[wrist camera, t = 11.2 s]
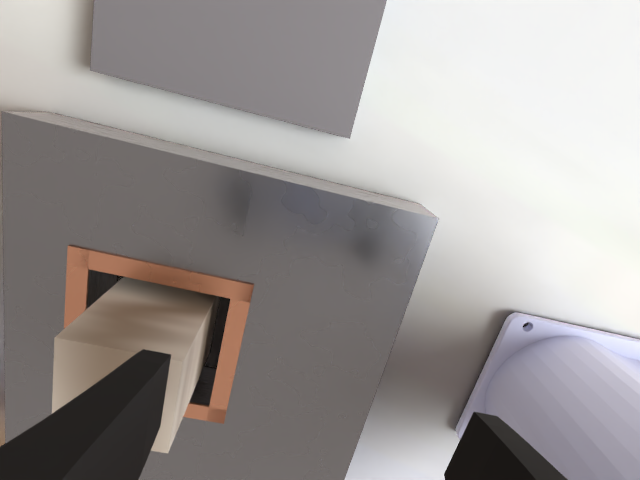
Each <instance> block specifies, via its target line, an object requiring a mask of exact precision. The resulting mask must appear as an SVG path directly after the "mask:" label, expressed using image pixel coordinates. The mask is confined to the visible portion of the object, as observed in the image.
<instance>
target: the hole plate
mask: <svg viewBox="0 0 640 480" xmlns="http://www.w3.org/2000/svg"><path fill="white" fill-rule="evenodd" d="M2 169H3V262H4V355H5V443H7V442H9V441H10V440H12V439H13V438H15V437H16V436H18V435H20V434H21V433H23V432H24V431H26V430H27V429H29V428H31V427H32V426H34V425H35V424H37V423H39V422H40V421H42V420H43V419H45V418H46V417H48V416H49V415H51V414H52V393H53V365H54V338H55V337H56V336H57V335H58V334H59V333H60V332H61V331H62V330H64V329H65V328H66V327H67V326H68V325H69V324H70V323H72V322H73V321H74V320H75V319H76V318H77V317H78V316H80V315H81V314H82V313H83V312H84V311H85V310H86V309H88V308H89V307H90V306H91V305H92V304H93V303H94V302H96V301H97V300H98V299H99V298H100V297H101V296H102V295H103V294H105V293H106V292H107V291H108V290H109V289H110V288H111V287H113V286H114V285H115V284H116V283H117V275H119V276H124V277H129V278H133V279H138V280H143V281H148V282H153V283H157V284H162V285H167V286H172V287H177V288H181V289H186V290H191V291H196V292H201V293H206V294H210V295H215V296H220V297H225V298H230V304H229V309H228V314H227V319H226V324H225V329H224V334H223V340H222V345H221V350H220V355H219V360H218V365H217V369H214V368H209V367H203V370H202V372H201V375H200V377H199V380H198V382H197V384H196V387H195V389H194V392H193V394H192V396H191V399H190V401H189V404H188V406H187V409H186V411H185V413H184V416H183V418H182V421H181V423H180V426H179V428H178V430H177V433H176V435H175V438H174V440H173V442H172V445H171V447H170V450H169V452H168V453H162V452H156V451H150V454H149V456H148V458H147V461H146V463H145V466H144V468H143V470H142V473H141V475H140V477H139V479H138V480H344V479H345V476H346V473H347V471H348V468H349V465H350V462H351V460H352V457H353V454H354V451H355V449H356V446H357V443H358V440H359V438H360V435H361V432H362V429H363V427H364V424H365V421H366V418H367V415H368V413H369V410H370V407H371V404H372V402H373V399H374V396H375V393H376V391H377V388H378V385H379V382H380V380H381V377H382V374H383V371H384V369H385V366H386V363H387V360H388V358H389V355H390V352H391V349H392V347H393V344H394V341H395V338H396V336H397V333H398V330H399V327H400V325H401V322H402V319H403V316H404V314H405V311H406V308H407V305H408V303H409V300H410V297H411V294H412V292H413V289H414V286H415V283H416V280H417V278H418V275H419V272H420V269H421V267H422V264H423V261H424V258H425V256H426V253H427V250H428V247H429V245H430V242H431V239H432V236H433V234H434V231H435V228H436V225H437V223H438V220H439V218H438V217H436V216H435V215H434V214H432V213H431V212H430V211H429V210H427V209H426V208H425V207H424V206H422V205H421V204H418V203H414V202H410V201H406V200H402V199H398V198H394V197H390V196H386V195H382V194H378V193H374V192H370V191H366V190H362V189H358V188H354V187H350V186H346V185H342V184H338V183H334V182H330V181H325V180H321V179H317V178H313V177H309V176H305V175H301V174H297V173H293V172H289V171H285V170H281V169H277V168H273V167H269V166H265V165H261V164H257V163H253V162H249V161H245V160H241V159H237V158H233V157H229V156H225V155H221V154H217V153H213V152H209V151H205V150H201V149H197V148H193V147H189V146H185V145H181V144H176V143H172V142H168V141H164V140H160V139H156V138H152V137H148V136H144V135H140V134H136V133H132V132H128V131H124V130H120V129H116V128H112V127H108V126H104V125H100V124H96V123H92V122H88V121H84V120H80V119H76V118H72V117H68V116H64V115H60V114H56V113H52V112H12V111H2Z"/></svg>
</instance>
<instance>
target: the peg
mask: <svg viewBox="0 0 640 480" xmlns="http://www.w3.org/2000/svg"><path fill="white" fill-rule="evenodd" d="M219 300H220V296H215V295H210V294H206V293H201V292H196V291H191V290H186V289H181V288H177V287H172V286H167V285H162V284H157V283H153V282H148V281H143V280H138V279H133V278H129V277H123V278H122V279H121V280H119V281H118V282H117V283H116V284H115V285H114V286H113V287H111V288H110V289H109V290H108V291H107V292H106V293H105V294H103V295H102V296H101V297H100V298H99V299H98V300H97V301H96V302H94V303H93V304H92V305H91V306H90V307H89V308H88V309H86V310H85V311H84V312H83V313H82V314H81V315H80V316H78V317H77V318H76V319H75V320H74V321H73V322H72V323H70V324H69V325H68V326H67V327H66V328H65V329H64V330H62V331H61V332H60V333H59V334H58V335H57V336H56V337H55V338H54V365H53V393H52V413H54V412H55V411H56V410H58V409H59V408H61V407H62V406H64V405H65V404H67V403H68V402H70V401H71V400H72V399H74V398H75V397H77V396H78V395H80V394H81V393H83V392H84V391H86V390H87V389H88V388H90V387H91V386H93V385H94V384H95V383H97V382H98V381H99V380H101V379H102V378H104V377H105V376H106V375H108V374H109V373H110V372H112V371H113V370H115V369H116V368H117V367H119V366H120V365H121V364H123V363H124V362H125V361H127V360H128V359H129V358H131V357H132V356H133V355H135V354H136V353H138V352H139V351H141V350H143V349H145V350H151V351H156V352H161V353H166V354H171V360H170V366H169V373H168V380H167V386H166V393H165V399H164V406H163V413H162V419H161V426H160V429H159V431H158V434H157V436H156V439H155V441H154V444H153V446H152V449H151V451H156V452H162V453H168V452H169V450H170V447H171V445H172V442H173V440H174V438H175V435H176V433H177V430H178V428H179V426H180V423H181V421H182V418H183V416H184V413H185V411H186V409H187V406H188V404H189V401H190V399H191V396H192V394H193V392H194V389H195V387H196V384H197V382H198V380H199V377H200V375H201V372H202V370H203V367H204V365H205V363H206V360H207V358H208V355H209V353H210V348H211V343H212V337H213V332H214V327H215V321H216V316H217V311H218V305H219Z"/></svg>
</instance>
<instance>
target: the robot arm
mask: <svg viewBox="0 0 640 480" xmlns="http://www.w3.org/2000/svg"><path fill="white" fill-rule="evenodd" d="M527 322H529V323H528V325H527V326H526V327H523V325H524V324H525V323H527ZM170 360H171V354H166V353H161V352H156V351H151V350H145V349H143V350H141V351H139V352H138V353H136V354H135V355H133V356H132V357H131V358H129V359H128V360H127V361H125V362H124V363H123V364H121V365H120V366H119V367H117V368H116V369H115V370H113V371H112V372H110V373H109V374H108V375H106V376H105V377H104V378H102V379H101V380H99V381H98V382H97V383H95V384H94V385H93V386H91V387H90V388H88V389H87V390H86V391H84V392H83V393H81V394H80V395H78V396H77V397H75V398H74V399H72V400H71V401H70V402H68V403H67V404H65V405H64V406H62V407H61V408H59V409H58V410H56V411H55V412H54V413H52V414H51V415H49V416H48V417H46V418H45V419H43V420H42V421H40V422H39V423H37V424H35V425H34V426H32V427H31V428H29V429H27V430H26V431H24V432H23V433H21V434H20V435H18V436H16V437H15V438H13V439H12V440H10V441H9V442H7V443H5V444H4V445H2V446H1V447H0V480H138V479H139V477H140V475H141V473H142V470H143V468H144V466H145V463H146V461H147V458H148V456H149V454H150V451H151V449H152V446H153V444H154V441H155V439H156V436H157V434H158V431H159V429H160V426H161V419H162V413H163V406H164V399H165V393H166V386H167V380H168V373H169V366H170ZM455 431H456V434H457V436H458V438H459V439H461V440H460V442H459V444H458V446H457V448H456V450H455V452H454V454H453V457H452V459H451V461H450V463H449V465H448V467H447V469H446V471H445V474H444V476H445V480H640V339H635V338H631V337H626V336H622V335H617V334H613V333H608V332H604V331H599V330H595V329H590V328H586V327H581V326H577V325H572V324H568V323H563V322H559V321H555V320H550V319H546V318H541V317H537V316H532V315H528V314H523V313H516V312H515V313H512V314H510V315H509V316H508V317H507V318H506V320H505V322H504V324H503V326H502V328H501V331H500V333H499V335H498V337H497V339H496V342H495V344H494V346H493V348H492V350H491V352H490V355H489V357H488V359H487V361H486V363H485V365H484V368H483V370H482V372H481V374H480V376H479V379H478V381H477V383H476V385H475V387H474V389H473V392H472V394H471V396H470V398H469V400H468V402H467V405H466V407H465V409H464V411H463V413H462V415H461V418H460V420H459V422H458V424H457V426H456V430H455Z"/></svg>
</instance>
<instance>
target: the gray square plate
mask: <svg viewBox="0 0 640 480" xmlns="http://www.w3.org/2000/svg"><path fill="white" fill-rule="evenodd" d="M386 1H387V0H94V11H93V29H92V46H91V64H90V71H94V72H98V73H102V74H106V75H109V76H113V77H117V78H121V79H125V80H128V81H132V82H136V83H140V84H144V85H147V86H151V87H155V88H159V89H163V90H167V91H170V92H174V93H178V94H182V95H186V96H189V97H193V98H197V99H201V100H205V101H208V102H212V103H216V104H220V105H224V106H228V107H231V108H235V109H239V110H243V111H247V112H250V113H254V114H258V115H262V116H266V117H269V118H273V119H277V120H281V121H285V122H288V123H292V124H296V125H300V126H304V127H308V128H311V129H315V130H319V131H323V132H327V133H330V134H334V135H338V136H342V137H346V138H349V139H350V135H351V132H352V128H353V124H354V120H355V117H356V113H357V109H358V106H359V102H360V98H361V94H362V91H363V87H364V83H365V79H366V76H367V72H368V68H369V64H370V61H371V57H372V53H373V50H374V46H375V42H376V38H377V35H378V31H379V27H380V23H381V20H382V16H383V12H384V9H385V5H386Z"/></svg>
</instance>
